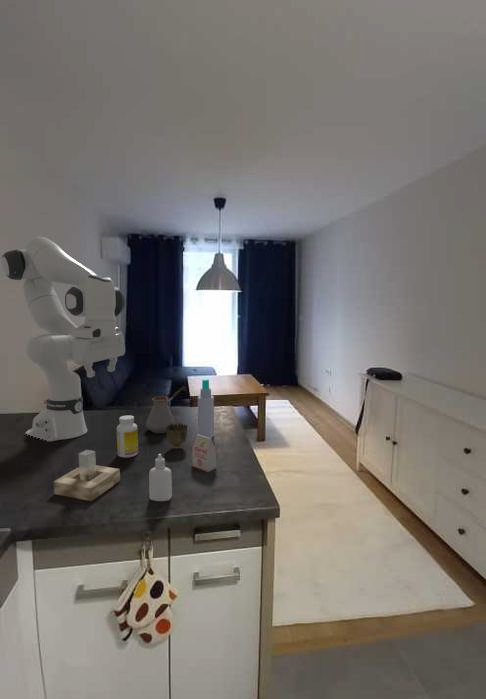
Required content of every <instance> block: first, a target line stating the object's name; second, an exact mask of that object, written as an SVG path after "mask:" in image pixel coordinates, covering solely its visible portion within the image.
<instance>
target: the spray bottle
mask: <svg viewBox="0 0 486 699" xmlns="http://www.w3.org/2000/svg"><path fill="white" fill-rule="evenodd" d="M201 384H202V386H201V387H202V388H200V391H199V392H200V394H199V396H197V434H198V435H202V436H205V437H208V438H212V439H213V437H215V396H213V395H212V389H211V387H210V379H208V378H204V379H202V382H201Z"/></svg>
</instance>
